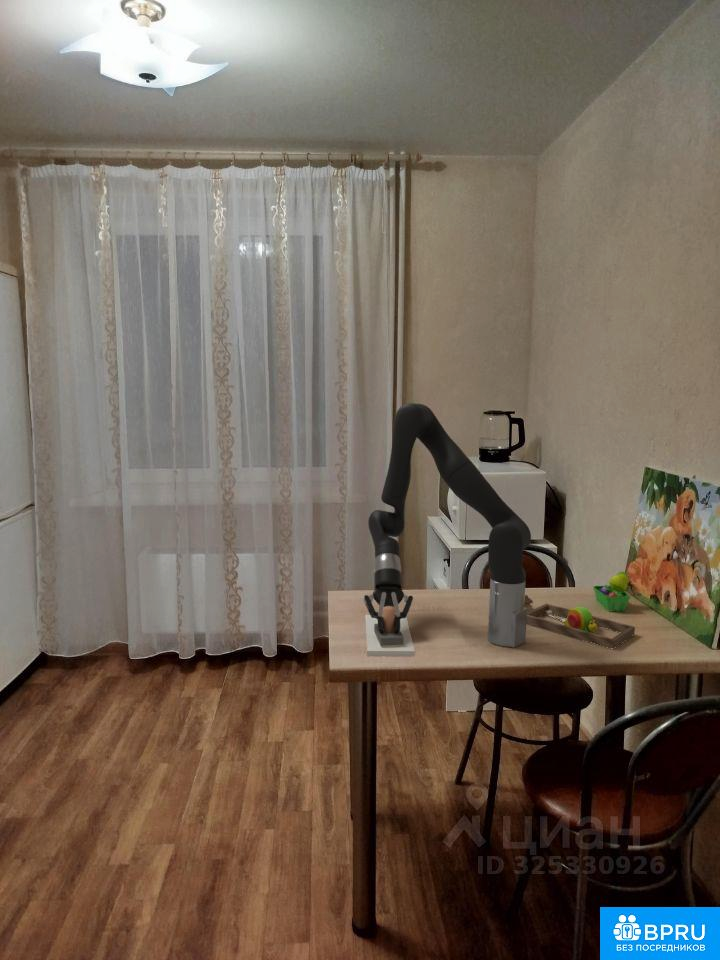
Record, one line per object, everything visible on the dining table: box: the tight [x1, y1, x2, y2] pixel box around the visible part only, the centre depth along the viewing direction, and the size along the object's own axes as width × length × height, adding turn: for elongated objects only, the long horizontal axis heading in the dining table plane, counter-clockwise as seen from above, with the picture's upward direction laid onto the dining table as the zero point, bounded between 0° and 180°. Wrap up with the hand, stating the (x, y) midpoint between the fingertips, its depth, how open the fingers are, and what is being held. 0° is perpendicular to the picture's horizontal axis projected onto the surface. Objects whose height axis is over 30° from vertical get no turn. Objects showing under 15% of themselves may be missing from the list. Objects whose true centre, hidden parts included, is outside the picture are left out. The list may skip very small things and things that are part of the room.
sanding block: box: [374, 606, 404, 647], centre depth 173 cm, size 10×6×8 cm, turn 8°
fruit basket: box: [592, 571, 631, 612], centre depth 204 cm, size 11×9×11 cm
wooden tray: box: [526, 603, 636, 650], centre depth 186 cm, size 27×14×2 cm, turn 46°
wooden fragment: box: [524, 594, 535, 612], centre depth 209 cm, size 26×11×1 cm, turn 172°
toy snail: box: [544, 606, 599, 634], centre depth 189 cm, size 6×19×7 cm, turn 26°
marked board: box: [365, 614, 415, 658], centre depth 179 cm, size 26×12×2 cm, turn 1°
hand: (389, 631), depth 171 cm, fingers closed on sanding block, 3 cm apart
